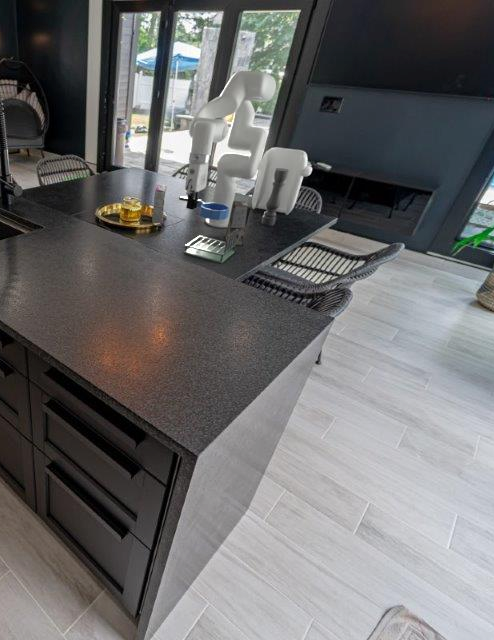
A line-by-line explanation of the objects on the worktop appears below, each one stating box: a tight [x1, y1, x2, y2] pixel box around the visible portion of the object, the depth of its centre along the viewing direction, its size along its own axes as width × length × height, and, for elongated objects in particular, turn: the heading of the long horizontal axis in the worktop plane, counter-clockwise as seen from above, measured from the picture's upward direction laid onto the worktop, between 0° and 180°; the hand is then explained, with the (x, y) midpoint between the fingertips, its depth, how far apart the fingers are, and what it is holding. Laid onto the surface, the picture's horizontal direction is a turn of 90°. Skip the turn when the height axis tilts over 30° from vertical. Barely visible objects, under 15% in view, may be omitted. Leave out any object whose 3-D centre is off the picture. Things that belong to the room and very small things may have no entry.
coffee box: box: [225, 200, 252, 246], centre depth 172 cm, size 9×6×16 cm
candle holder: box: [260, 168, 289, 227], centre depth 190 cm, size 6×6×25 cm
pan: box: [178, 195, 230, 220], centre depth 158 cm, size 11×20×5 cm, turn 54°
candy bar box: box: [151, 184, 168, 227], centre depth 190 cm, size 11×5×16 cm, turn 168°
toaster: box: [251, 146, 313, 216], centre depth 208 cm, size 27×11×30 cm, turn 58°
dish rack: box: [183, 229, 238, 264], centre depth 162 cm, size 14×16×10 cm
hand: (191, 207), depth 161 cm, fingers closed on pan
